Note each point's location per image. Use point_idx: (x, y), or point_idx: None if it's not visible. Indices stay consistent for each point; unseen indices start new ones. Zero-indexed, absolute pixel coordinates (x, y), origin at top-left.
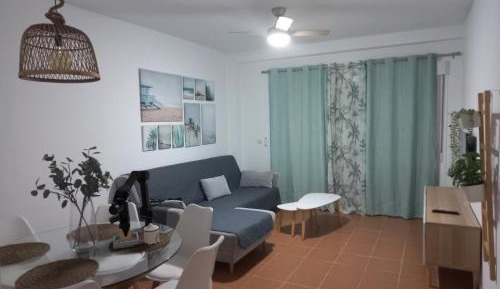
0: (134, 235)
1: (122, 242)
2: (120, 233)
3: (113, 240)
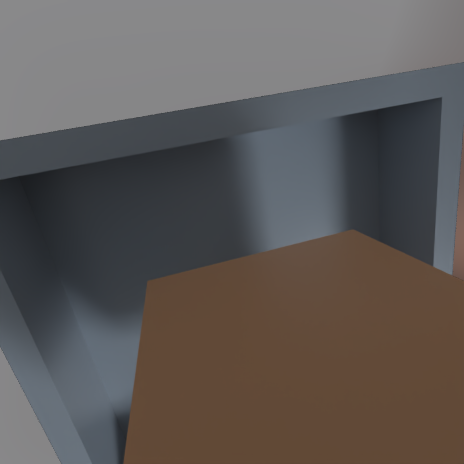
0: None
1: (10, 351)
2: (139, 419)
3: (176, 114)
